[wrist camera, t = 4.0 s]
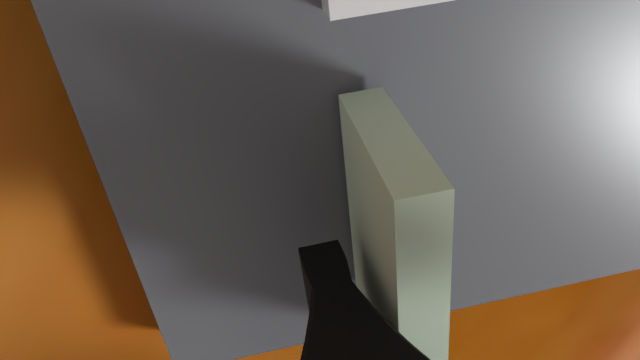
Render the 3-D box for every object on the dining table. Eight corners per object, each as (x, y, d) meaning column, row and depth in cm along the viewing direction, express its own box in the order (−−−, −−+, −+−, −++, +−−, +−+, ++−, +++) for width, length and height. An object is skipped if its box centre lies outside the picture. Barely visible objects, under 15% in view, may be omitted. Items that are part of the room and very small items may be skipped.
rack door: (399, 323, 16) (452, 452, 13) (353, 333, 16) (395, 467, 13) (391, 84, 12) (466, 186, 9) (329, 96, 12) (381, 203, 9)
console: (800, 198, 20) (865, 238, 18) (177, 332, 17) (175, 395, 16) (1112, -468, 11) (1309, -531, 9) (-78, -361, 9) (-156, -414, 7)
